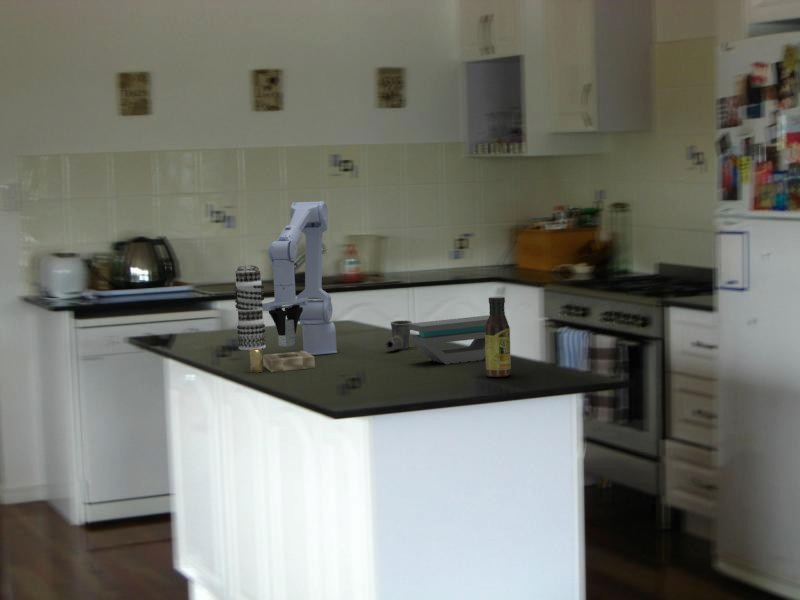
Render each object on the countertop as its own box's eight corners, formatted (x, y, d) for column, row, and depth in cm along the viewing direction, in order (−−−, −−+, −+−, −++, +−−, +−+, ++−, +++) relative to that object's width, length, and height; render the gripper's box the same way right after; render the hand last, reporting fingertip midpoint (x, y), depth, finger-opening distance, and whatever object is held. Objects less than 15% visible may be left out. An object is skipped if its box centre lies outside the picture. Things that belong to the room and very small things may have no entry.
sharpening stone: (423, 367, 335) (421, 326, 334) (410, 363, 342) (408, 323, 341) (504, 357, 346) (503, 317, 345) (490, 353, 353) (489, 315, 352)
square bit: (287, 344, 347) (286, 319, 347) (295, 345, 345) (293, 319, 344) (278, 345, 345) (277, 320, 344) (286, 346, 343) (284, 321, 342)
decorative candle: (263, 344, 391) (259, 264, 388) (270, 348, 382) (265, 266, 379) (234, 347, 388) (229, 266, 385) (240, 351, 379) (235, 268, 376)
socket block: (305, 361, 353) (305, 351, 353) (315, 367, 341) (314, 356, 341) (263, 365, 350) (262, 354, 349) (271, 371, 338) (270, 360, 338)
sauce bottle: (503, 378, 312) (501, 298, 310) (481, 377, 316) (478, 298, 313) (515, 374, 318) (513, 295, 316) (493, 373, 321) (491, 295, 319)
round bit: (261, 370, 341) (260, 348, 340) (263, 372, 338) (262, 350, 337) (250, 371, 340) (248, 349, 340) (252, 373, 337) (250, 351, 336)
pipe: (381, 353, 363) (379, 325, 362) (397, 346, 375) (396, 320, 374) (400, 353, 361) (399, 326, 360) (416, 347, 373) (415, 320, 372)
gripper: (295, 281, 351) (297, 330, 352) (254, 286, 341) (257, 336, 342) (312, 282, 346) (314, 331, 348) (270, 288, 336) (273, 338, 337)
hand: (287, 334), depth 345 cm, fingers closed on square bit, 3 cm apart
